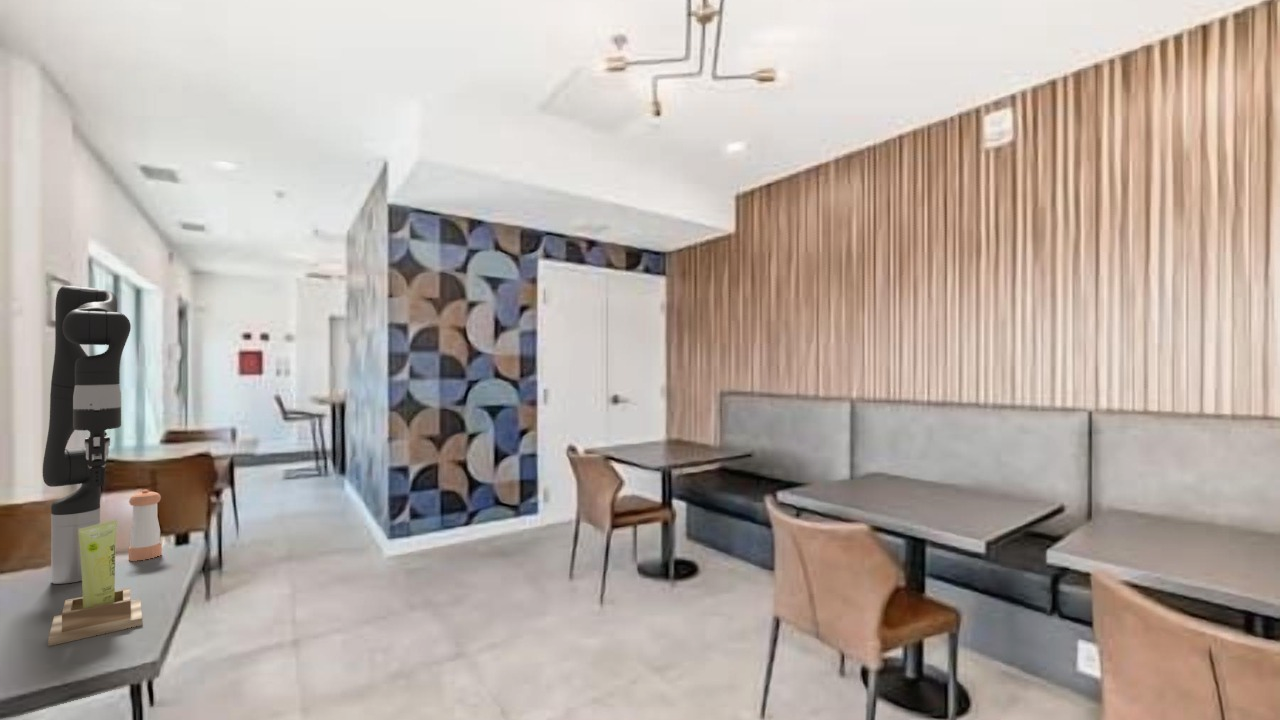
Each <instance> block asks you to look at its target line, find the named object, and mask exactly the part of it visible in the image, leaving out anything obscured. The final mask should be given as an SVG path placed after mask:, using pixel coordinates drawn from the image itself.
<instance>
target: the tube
mask: <svg viewBox="0 0 1280 720" xmlns="http://www.w3.org/2000/svg"><path fill="white" fill-rule="evenodd" d="M117 527H118V519H117V518H116V519H113V520H109V521H105V522H100V524H97V525H93V526H89V527H85V528H80V529H79V530H78V534H79V542H80V555H81V570H82V581H81V588H82V589H81V590H82V597H83V608H88V607H93V606H98V605H103V604H108V603H113V602H115V591H116V590H115V589H116V587H115V586H116V585H115V584H116V582H115V581H116V553H117V552H116V549H117V548H116V545H117V529H118V528H117Z"/></svg>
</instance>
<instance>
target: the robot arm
mask: <svg viewBox="0 0 1280 720" xmlns="http://www.w3.org/2000/svg"><path fill="white" fill-rule="evenodd" d="M55 298H56V299H55V307H54V308H55V311H54V315H55V316H54V317H55V318H54V321H55V322H54V323H55V324H54V325H55V329H54V331H55V332H54V333H55V339H54V340H55V341H54V342H55V343H54V357H53V365H52V371H51V372H52V373H51V381H50V393H49V394H50V398H49V422H48V432H47V438H46V443H45V449H44V455H43V462H42V478H43V482H44V484H45V485H46V486H47V487H52V488H53V487H65V486H72V485H80V487H79V488H78V489H77V490H76V491H74V492H72V493H70V494H69V495H65V496H64V497H61V498H58V499H56V500H55V501H53V502H51V503H52V504H51V507H50V509H51V510H50V519H51V520H50V525H51V526H50V529H51V530H50V531H51V533H50V534H51V538H50V541H51V545H50V550H51V551H50V558H51V559H50V561H51V562H50V563H51V564H50V567H51V568H50V573H51V574H50V582H51V584H55V585H56V584H58V585H59V584H70V583H77V582H82V570H81V555H80V542H79V534H78V530H79V529H80V528H85V527H89V526H93V525H97V524H100V523H101V496H102V495H101V494H102V493H101V491H102V490H101V488H102V487H104V486H105V478H106V465H107V463H106V461H107V459H108V458H109V453H110V451H109V449H110V448H109V447H110V446H111V436H107V435H108V434H107V433H108V432H107V431H106V430H112V429H119V428H121V427H122V392H121V387H120V384H121V383H120V382H121V381H120V380H121V379H120V372H121V371H120V369H121V367H120V366H121V359H122V355H123V353H124V352H123V351H124V349H125V346H126V343H127V340H128V338H129V336H130V332H131V321H130V320H129V318H128V316H126V315H125V314H124V313H122V312H118V298H117V297H116V294H115V293H113V292H112V291H111V290H107V289H102V288H97V287H96V288H95V287H94V288H93V287H85V286H83V287H82V286H74V285H63V286H61V287H59V289H58V290H57V293H56V297H55ZM81 345H83V346H84V345H86V346H88V345H90V346H91V345H92V346H93V345H95V346H105V345H106V346H108V348H107V349H106V350H105V351H104V352H103V353H102V352H101V353H99V354H93V355H88V354H87V353H86V352H85V350H84V348H83V347H82V346H81ZM75 431H87V432H89V436H88V437H86V438H85V439H84V447H76V448H75V447H74V448H67V445H68V443H69V440H70V439H71V438H70V437H72V435H73V433H74V432H75Z"/></svg>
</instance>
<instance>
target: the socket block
mask: <svg viewBox="0 0 1280 720" xmlns="http://www.w3.org/2000/svg"><path fill="white" fill-rule="evenodd" d="M136 626H137V627H140V626H143V612H142V603H141V598H138V599H134V600H133V599H132V600H131V587H128V588H123V589H121V588H120V589H117V590H115V602H113V603H108V604H103V605H98V606H93V607H88V608H83V596H80V597H73V598H69V599H65V600H64V604H63V609H62V612H61V614H59V615H54V616H53V620H52V623H51V627H50V630H49V634H48V638H47V640H48V642H47V644H48V645H47V647H52V646H55V645H60V644H64V643H68V642H74V641H78V640H83V639H87V638H91V637H96V635H97V636H99V635H101V636H102V635H104V634H105V633H106V634H110V633H115V632H119V631H123V630H128V629H131V627H132V628H135V627H136ZM127 628H128V629H127ZM106 634H105V635H106Z"/></svg>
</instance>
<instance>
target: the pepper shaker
mask: <svg viewBox="0 0 1280 720" xmlns="http://www.w3.org/2000/svg"><path fill="white" fill-rule="evenodd" d="M161 499H162V495H161V494H160V493H159V492H155V491H149V489H143V490H142V491H141V492H138V493H135V494H133V495H131V496H130V498H129V500H128V503H129V505H130V506H132V524H131V528H130V534H129V539H130V540H129V541H130V546H128V561H129V560H130V562H138V561H137V560H143V561H146V560H145V559H149V560H151V559H150V558H153V559H155V558H154V557H157V556H159V557H161V556H162V554H163V552H162V549H163V548H162V547H163V546H162V541H161V528H160V522H159V518H158V514H159V513H158V503H160V501H161ZM160 555H161V556H160ZM157 558H158V557H157Z"/></svg>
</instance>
